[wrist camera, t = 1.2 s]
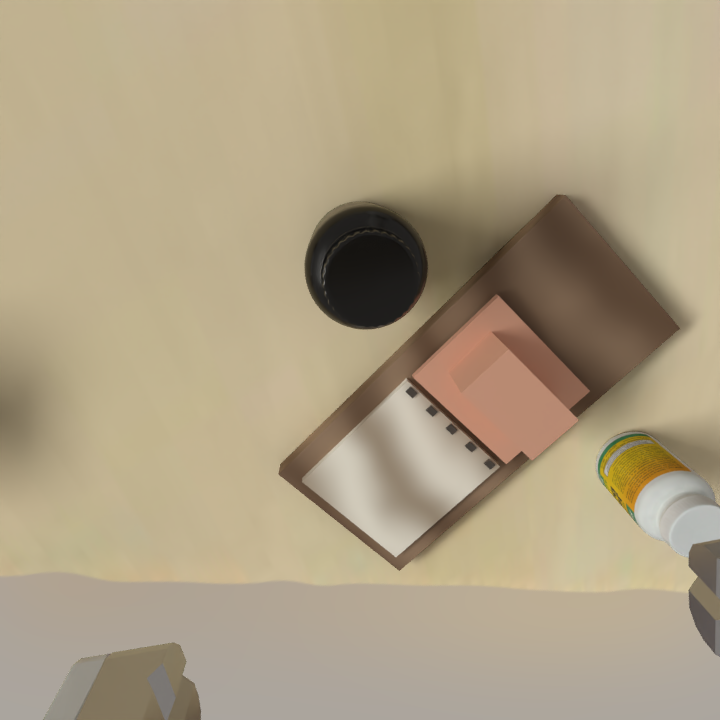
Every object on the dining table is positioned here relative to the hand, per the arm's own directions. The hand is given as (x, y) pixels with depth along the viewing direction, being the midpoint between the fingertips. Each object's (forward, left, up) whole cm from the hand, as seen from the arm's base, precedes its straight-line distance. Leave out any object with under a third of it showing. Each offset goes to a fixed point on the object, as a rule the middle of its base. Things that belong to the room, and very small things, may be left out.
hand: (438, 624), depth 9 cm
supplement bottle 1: (-1, -1, -32) cm, 32 cm away
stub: (-2, +12, -30) cm, 32 cm away
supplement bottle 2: (-4, +26, -32) cm, 41 cm away
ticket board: (+1, +12, -32) cm, 34 cm away
